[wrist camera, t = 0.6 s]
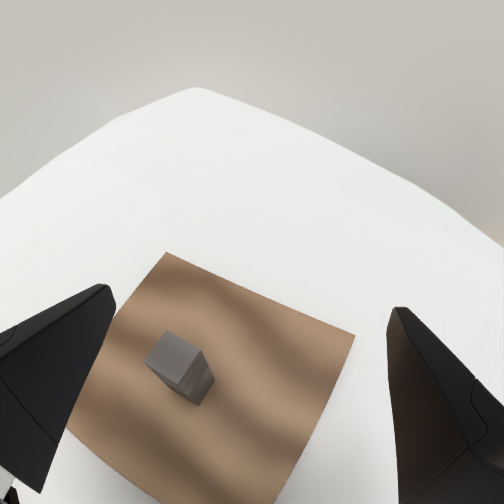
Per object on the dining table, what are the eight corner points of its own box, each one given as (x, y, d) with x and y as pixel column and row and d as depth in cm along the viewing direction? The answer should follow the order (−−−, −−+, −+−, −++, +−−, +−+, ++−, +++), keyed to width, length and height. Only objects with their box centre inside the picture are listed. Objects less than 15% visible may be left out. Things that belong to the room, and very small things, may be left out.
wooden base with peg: (244, 543, 16) (237, 574, 10) (53, 411, 22) (-2, 385, 16) (352, 339, 27) (380, 293, 20) (168, 257, 33) (148, 201, 27)
